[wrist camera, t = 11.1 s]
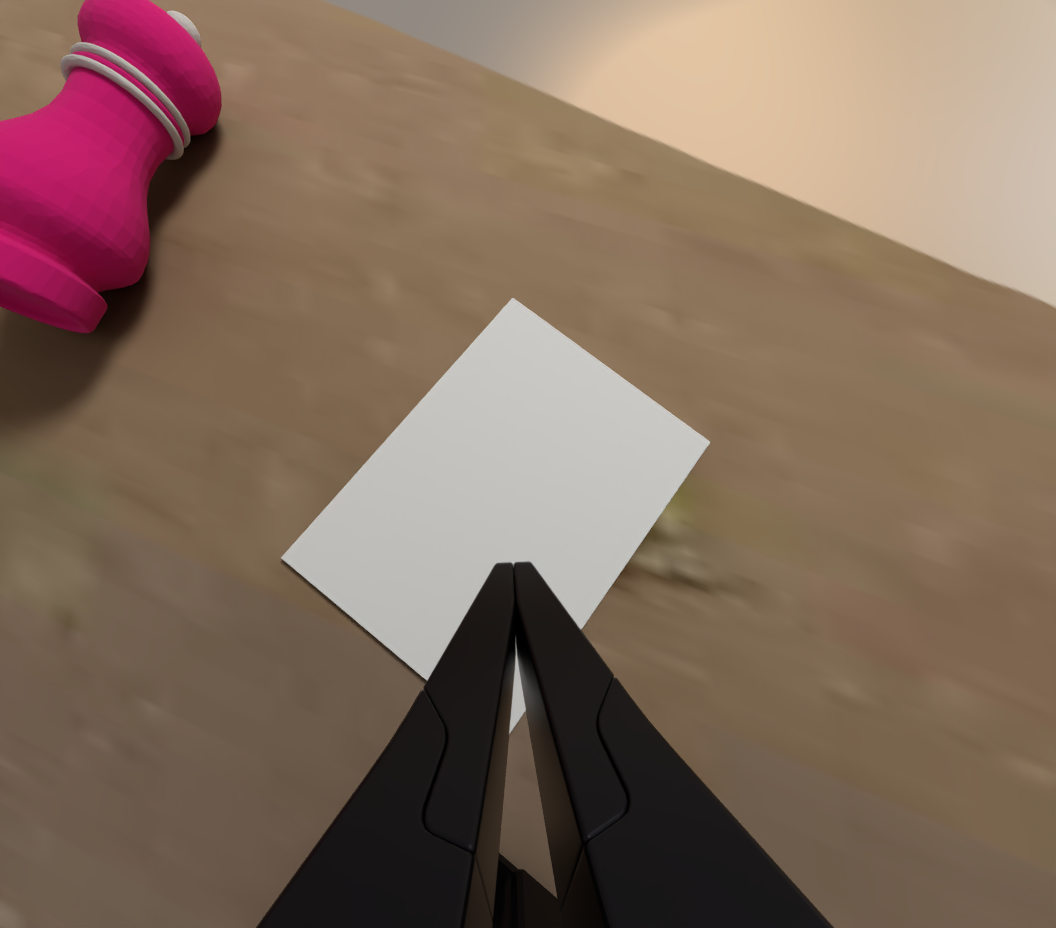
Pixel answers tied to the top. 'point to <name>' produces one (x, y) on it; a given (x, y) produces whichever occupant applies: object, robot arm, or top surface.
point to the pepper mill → (98, 160)
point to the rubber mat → (498, 491)
